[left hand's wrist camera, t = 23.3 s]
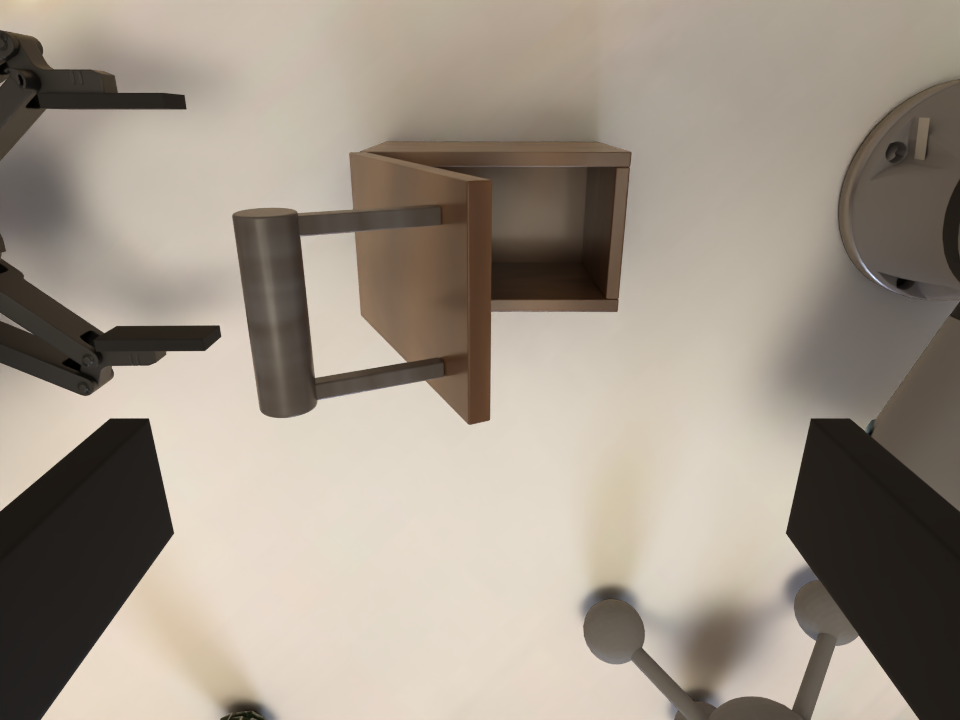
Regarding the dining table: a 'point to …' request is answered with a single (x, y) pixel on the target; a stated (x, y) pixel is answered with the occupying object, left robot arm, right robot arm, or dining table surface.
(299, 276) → the lid
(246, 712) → the grenade
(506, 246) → the chest
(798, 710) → the molecular model
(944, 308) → the dining table surface
